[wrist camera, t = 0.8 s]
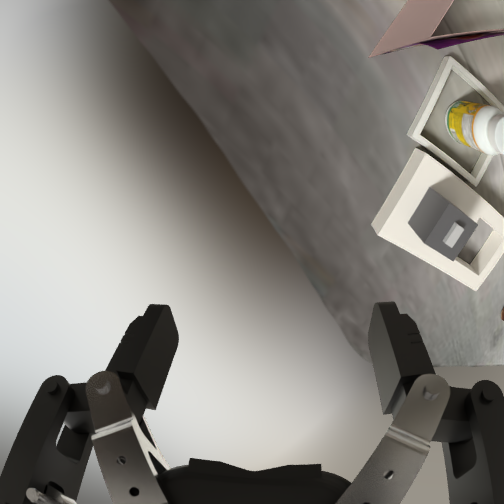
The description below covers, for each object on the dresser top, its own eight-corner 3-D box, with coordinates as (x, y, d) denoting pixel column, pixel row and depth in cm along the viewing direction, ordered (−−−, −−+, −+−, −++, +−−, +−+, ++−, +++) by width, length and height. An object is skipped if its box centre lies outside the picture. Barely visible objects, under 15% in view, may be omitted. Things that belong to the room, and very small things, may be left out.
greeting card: (371, 64, 26) (434, 50, 13) (342, 6, 23) (384, -46, 10) (451, 46, 23) (534, 38, 10) (426, -9, 20) (496, -43, 7)
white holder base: (415, 147, 30) (450, 166, 23) (506, 222, 33) (539, 250, 25) (371, 224, 35) (392, 260, 28) (467, 279, 38) (492, 315, 30)
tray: (444, 56, 24) (450, 55, 23) (505, 112, 25) (511, 114, 24) (406, 134, 29) (411, 136, 28) (470, 183, 31) (476, 187, 30)
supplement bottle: (442, 139, 29) (487, 159, 21) (444, 96, 26) (491, 103, 18) (475, 145, 28) (522, 165, 20) (477, 104, 26) (526, 115, 18)
